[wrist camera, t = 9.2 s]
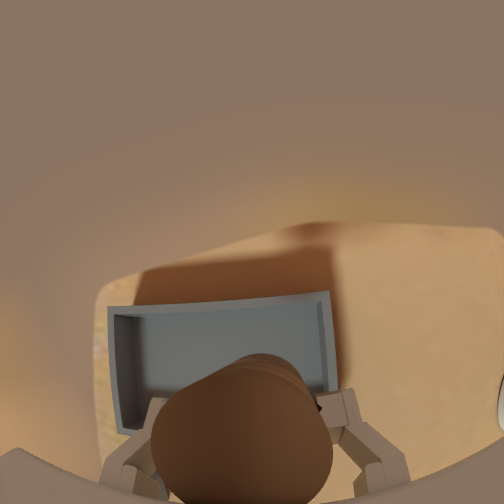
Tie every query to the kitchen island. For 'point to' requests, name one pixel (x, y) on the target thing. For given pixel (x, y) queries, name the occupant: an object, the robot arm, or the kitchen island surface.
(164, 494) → the slate block
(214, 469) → the wooden cylinder
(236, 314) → the tote
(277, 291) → the kitchen island surface
